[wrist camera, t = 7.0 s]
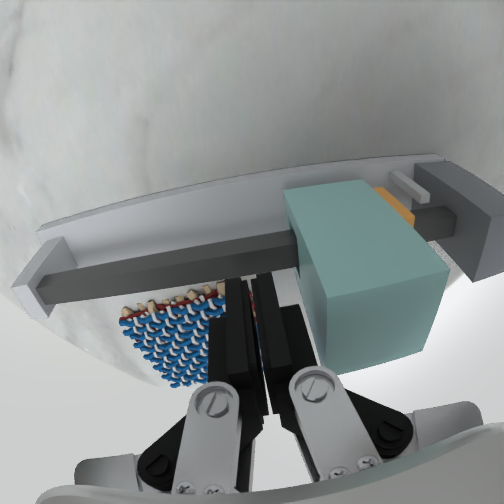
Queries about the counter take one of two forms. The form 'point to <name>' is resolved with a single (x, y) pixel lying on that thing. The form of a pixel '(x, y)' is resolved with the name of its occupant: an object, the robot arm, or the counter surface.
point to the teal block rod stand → (249, 230)
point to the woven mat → (178, 333)
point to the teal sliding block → (362, 275)
